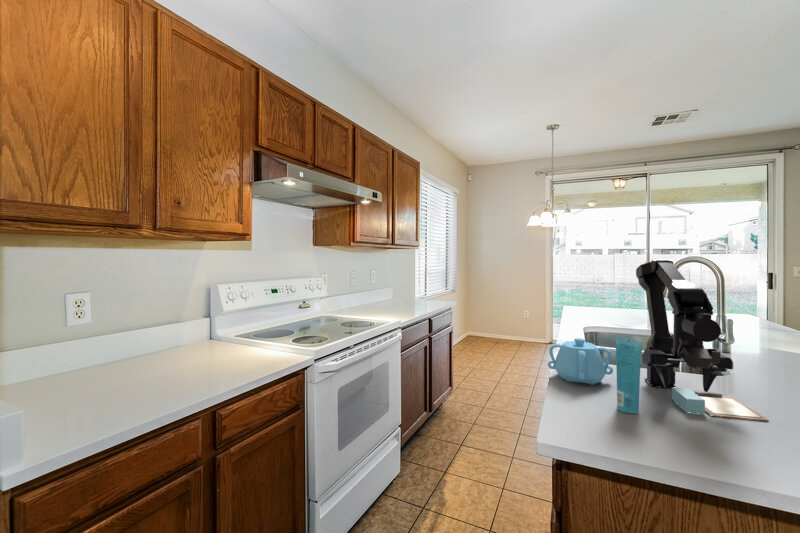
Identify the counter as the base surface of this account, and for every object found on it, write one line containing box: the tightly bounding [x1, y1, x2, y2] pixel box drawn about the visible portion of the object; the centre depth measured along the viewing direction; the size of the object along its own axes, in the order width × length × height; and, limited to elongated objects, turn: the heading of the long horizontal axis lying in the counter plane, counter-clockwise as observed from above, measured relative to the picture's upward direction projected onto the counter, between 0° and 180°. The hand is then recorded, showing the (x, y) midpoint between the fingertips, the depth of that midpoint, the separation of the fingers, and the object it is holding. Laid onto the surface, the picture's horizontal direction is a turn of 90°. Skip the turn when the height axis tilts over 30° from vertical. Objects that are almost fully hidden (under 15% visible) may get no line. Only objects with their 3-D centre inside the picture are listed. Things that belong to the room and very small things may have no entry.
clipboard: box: [694, 390, 770, 422], centre depth 98 cm, size 12×15×1 cm
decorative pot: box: [547, 337, 614, 386], centre depth 121 cm, size 16×16×14 cm
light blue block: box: [671, 387, 706, 415], centre depth 99 cm, size 10×4×4 cm, turn 165°
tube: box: [614, 335, 644, 414], centre depth 97 cm, size 7×5×19 cm, turn 29°
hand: (685, 389), depth 99 cm, fingers open, 9 cm apart
